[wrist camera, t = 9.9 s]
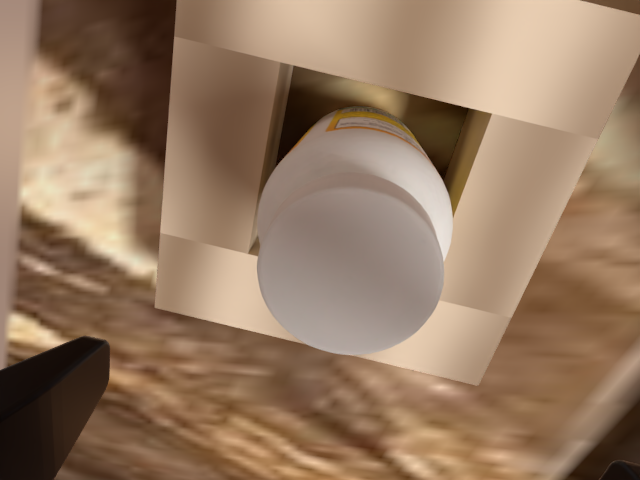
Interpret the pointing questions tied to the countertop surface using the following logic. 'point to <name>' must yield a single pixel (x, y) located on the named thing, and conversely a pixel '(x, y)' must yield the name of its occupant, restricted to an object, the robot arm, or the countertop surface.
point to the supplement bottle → (354, 234)
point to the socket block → (406, 76)
